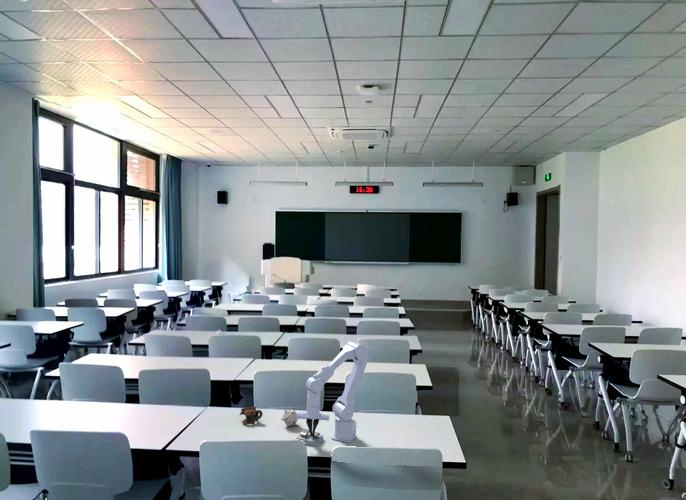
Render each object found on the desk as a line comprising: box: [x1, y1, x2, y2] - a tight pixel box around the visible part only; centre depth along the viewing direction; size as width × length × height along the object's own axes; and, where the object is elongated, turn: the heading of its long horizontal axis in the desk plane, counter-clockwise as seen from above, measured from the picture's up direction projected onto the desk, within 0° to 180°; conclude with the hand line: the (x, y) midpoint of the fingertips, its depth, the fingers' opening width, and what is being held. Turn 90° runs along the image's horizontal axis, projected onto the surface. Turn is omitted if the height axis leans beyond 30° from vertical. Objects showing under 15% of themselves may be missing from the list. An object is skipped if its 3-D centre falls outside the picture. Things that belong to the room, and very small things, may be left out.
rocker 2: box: [312, 431, 321, 437], centre depth 215 cm, size 3×4×1 cm
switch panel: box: [295, 432, 324, 447], centre depth 216 cm, size 10×7×3 cm
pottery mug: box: [239, 406, 264, 426], centre depth 238 cm, size 12×10×8 cm
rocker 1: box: [299, 428, 310, 437], centre depth 217 cm, size 3×4×1 cm
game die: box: [280, 407, 299, 429], centre depth 233 cm, size 9×8×10 cm
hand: (312, 435), depth 213 cm, fingers closed, pressing on rocker 2
